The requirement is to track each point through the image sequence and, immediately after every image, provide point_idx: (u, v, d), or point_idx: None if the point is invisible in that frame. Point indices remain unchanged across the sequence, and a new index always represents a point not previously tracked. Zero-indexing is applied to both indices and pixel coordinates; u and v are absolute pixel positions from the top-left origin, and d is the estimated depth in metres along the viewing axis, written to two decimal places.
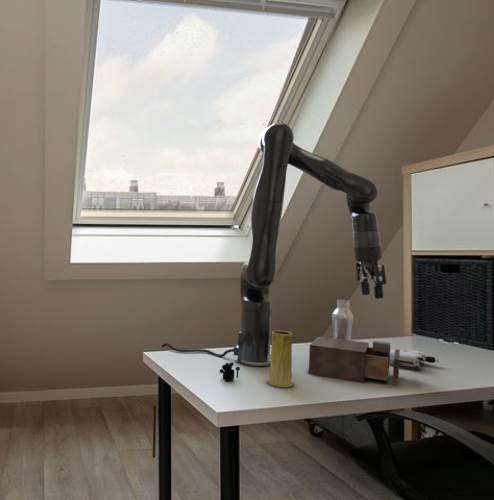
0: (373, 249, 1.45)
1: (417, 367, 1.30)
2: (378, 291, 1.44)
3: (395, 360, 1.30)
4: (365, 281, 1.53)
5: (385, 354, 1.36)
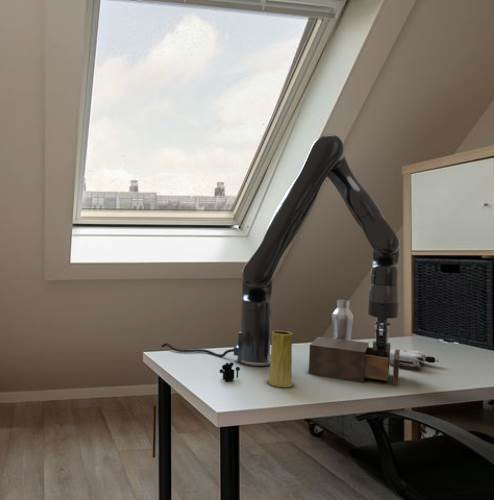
0: (382, 305, 1.34)
1: (417, 367, 1.30)
2: (379, 353, 1.36)
3: (395, 360, 1.30)
4: None
5: (385, 354, 1.36)
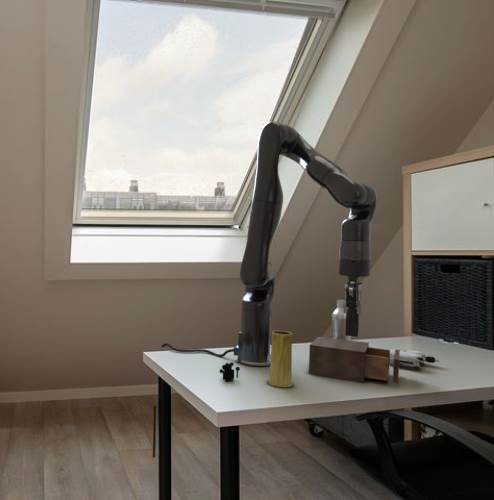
0: (353, 263, 1.24)
1: (417, 367, 1.30)
2: (349, 315, 1.25)
3: (395, 360, 1.30)
4: None
5: None
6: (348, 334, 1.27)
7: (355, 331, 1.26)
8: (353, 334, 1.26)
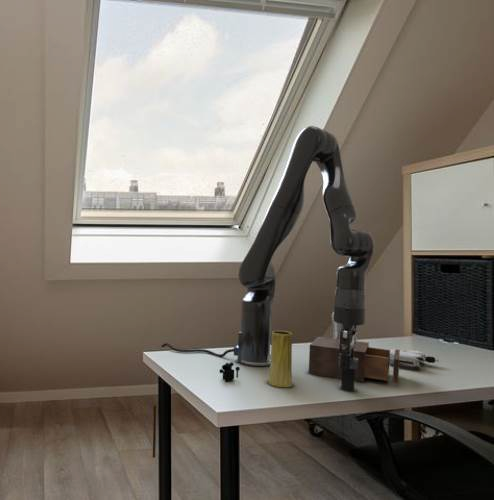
0: (348, 311, 1.23)
1: (417, 367, 1.30)
2: (342, 361, 1.22)
3: (395, 360, 1.30)
4: None
5: (352, 371, 1.25)
6: (344, 388, 1.26)
7: (351, 385, 1.25)
8: (349, 389, 1.26)
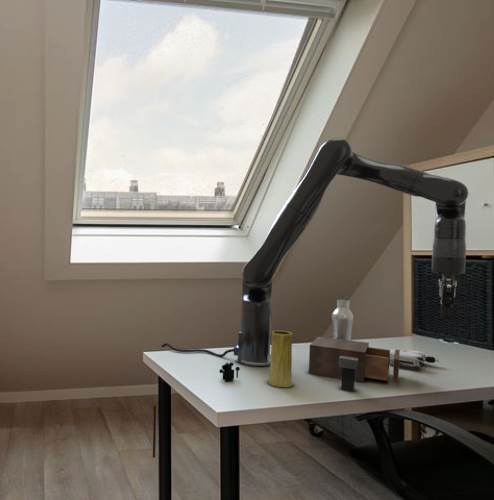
0: (449, 260, 1.26)
1: (417, 367, 1.30)
2: (444, 311, 1.27)
3: (395, 360, 1.30)
4: None
5: (352, 371, 1.25)
6: (344, 388, 1.26)
7: (351, 385, 1.25)
8: (349, 389, 1.26)
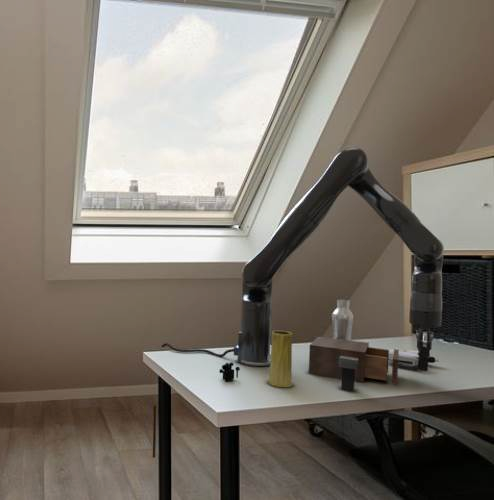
0: (426, 314, 1.29)
1: (416, 367, 1.30)
2: (421, 362, 1.31)
3: (394, 360, 1.30)
4: None
5: (352, 371, 1.25)
6: (344, 388, 1.26)
7: (351, 385, 1.25)
8: (349, 389, 1.26)
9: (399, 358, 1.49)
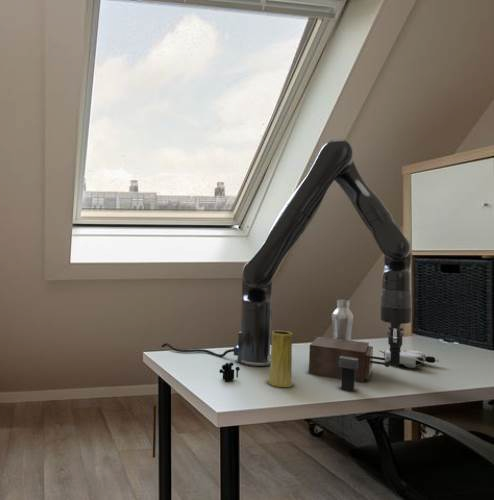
0: (395, 311, 1.32)
1: (388, 363, 1.34)
2: (393, 358, 1.35)
3: (366, 356, 1.34)
4: None
5: (352, 371, 1.25)
6: (344, 388, 1.26)
7: (351, 385, 1.25)
8: (349, 389, 1.26)
9: None
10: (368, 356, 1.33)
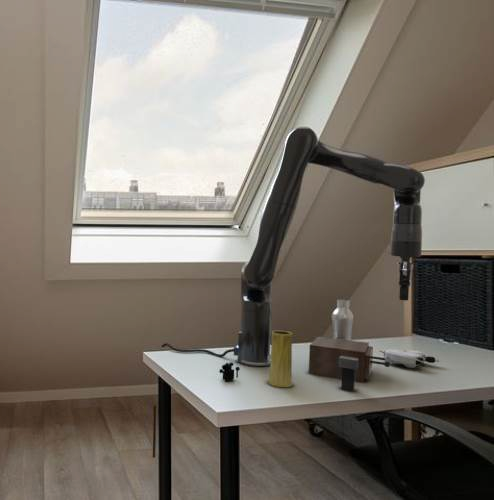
0: (406, 244, 1.33)
1: (388, 363, 1.34)
2: (402, 292, 1.36)
3: (366, 356, 1.34)
4: None
5: (352, 371, 1.25)
6: (344, 388, 1.26)
7: (351, 385, 1.25)
8: (349, 389, 1.26)
9: (399, 358, 1.49)
10: (368, 356, 1.33)
